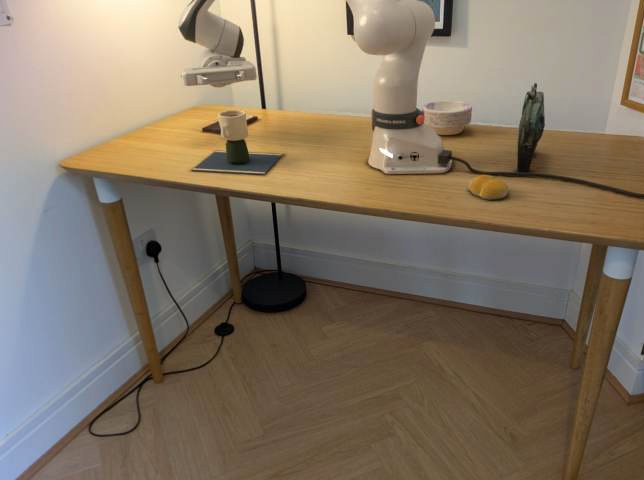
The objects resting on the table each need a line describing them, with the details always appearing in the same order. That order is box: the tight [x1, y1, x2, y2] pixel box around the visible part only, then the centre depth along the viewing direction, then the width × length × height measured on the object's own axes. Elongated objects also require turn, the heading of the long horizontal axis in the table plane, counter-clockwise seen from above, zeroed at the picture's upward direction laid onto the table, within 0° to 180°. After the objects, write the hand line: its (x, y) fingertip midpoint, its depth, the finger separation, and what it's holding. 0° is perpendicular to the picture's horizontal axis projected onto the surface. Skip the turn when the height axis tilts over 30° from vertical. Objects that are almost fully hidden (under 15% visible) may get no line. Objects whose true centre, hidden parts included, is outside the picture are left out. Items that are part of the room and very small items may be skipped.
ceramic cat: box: [516, 82, 546, 173], centre depth 145 cm, size 20×6×20 cm, turn 162°
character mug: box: [217, 109, 250, 163], centre depth 150 cm, size 11×7×13 cm, turn 163°
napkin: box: [191, 150, 284, 176], centre depth 153 cm, size 20×16×1 cm
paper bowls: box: [421, 100, 473, 136], centre depth 173 cm, size 15×15×8 cm
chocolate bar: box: [201, 114, 259, 135], centre depth 184 cm, size 9×1×18 cm
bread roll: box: [468, 174, 509, 200], centre depth 132 cm, size 8×9×4 cm
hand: (222, 80), depth 153 cm, fingers open, 8 cm apart
